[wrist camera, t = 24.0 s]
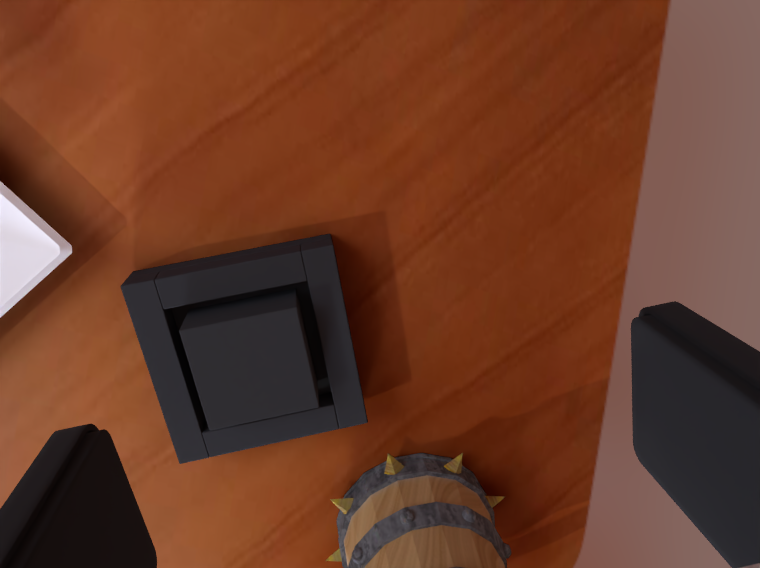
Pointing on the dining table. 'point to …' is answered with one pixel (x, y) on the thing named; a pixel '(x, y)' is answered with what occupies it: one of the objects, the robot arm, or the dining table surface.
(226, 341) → the small pad
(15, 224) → the plate
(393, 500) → the mug
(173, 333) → the base pad
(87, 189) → the dining table surface
